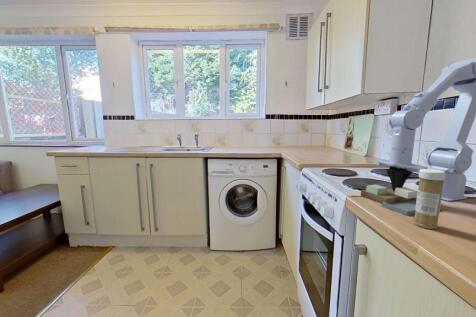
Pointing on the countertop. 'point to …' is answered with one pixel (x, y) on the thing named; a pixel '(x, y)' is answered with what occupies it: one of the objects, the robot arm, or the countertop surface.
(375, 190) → the green tile
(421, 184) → the sprinkles bottle
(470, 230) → the countertop surface
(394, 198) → the walnut board
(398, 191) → the cream tile
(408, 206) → the tray
